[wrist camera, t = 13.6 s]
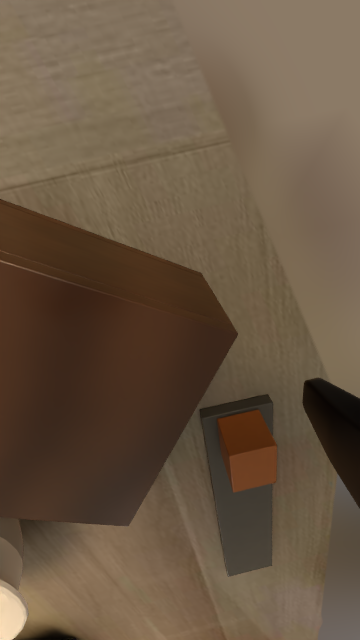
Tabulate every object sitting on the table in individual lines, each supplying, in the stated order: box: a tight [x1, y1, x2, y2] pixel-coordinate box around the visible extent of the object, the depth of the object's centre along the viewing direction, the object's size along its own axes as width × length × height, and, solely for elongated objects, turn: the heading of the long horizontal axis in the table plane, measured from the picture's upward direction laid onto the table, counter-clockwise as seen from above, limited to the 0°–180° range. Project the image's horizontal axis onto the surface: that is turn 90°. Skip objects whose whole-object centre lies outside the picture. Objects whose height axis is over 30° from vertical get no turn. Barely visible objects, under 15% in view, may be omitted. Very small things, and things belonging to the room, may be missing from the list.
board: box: [200, 395, 273, 577], centre depth 32 cm, size 30×6×1 cm, turn 9°
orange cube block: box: [217, 410, 277, 492], centre depth 24 cm, size 5×4×4 cm
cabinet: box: [0, 199, 238, 526], centre depth 17 cm, size 14×15×8 cm
